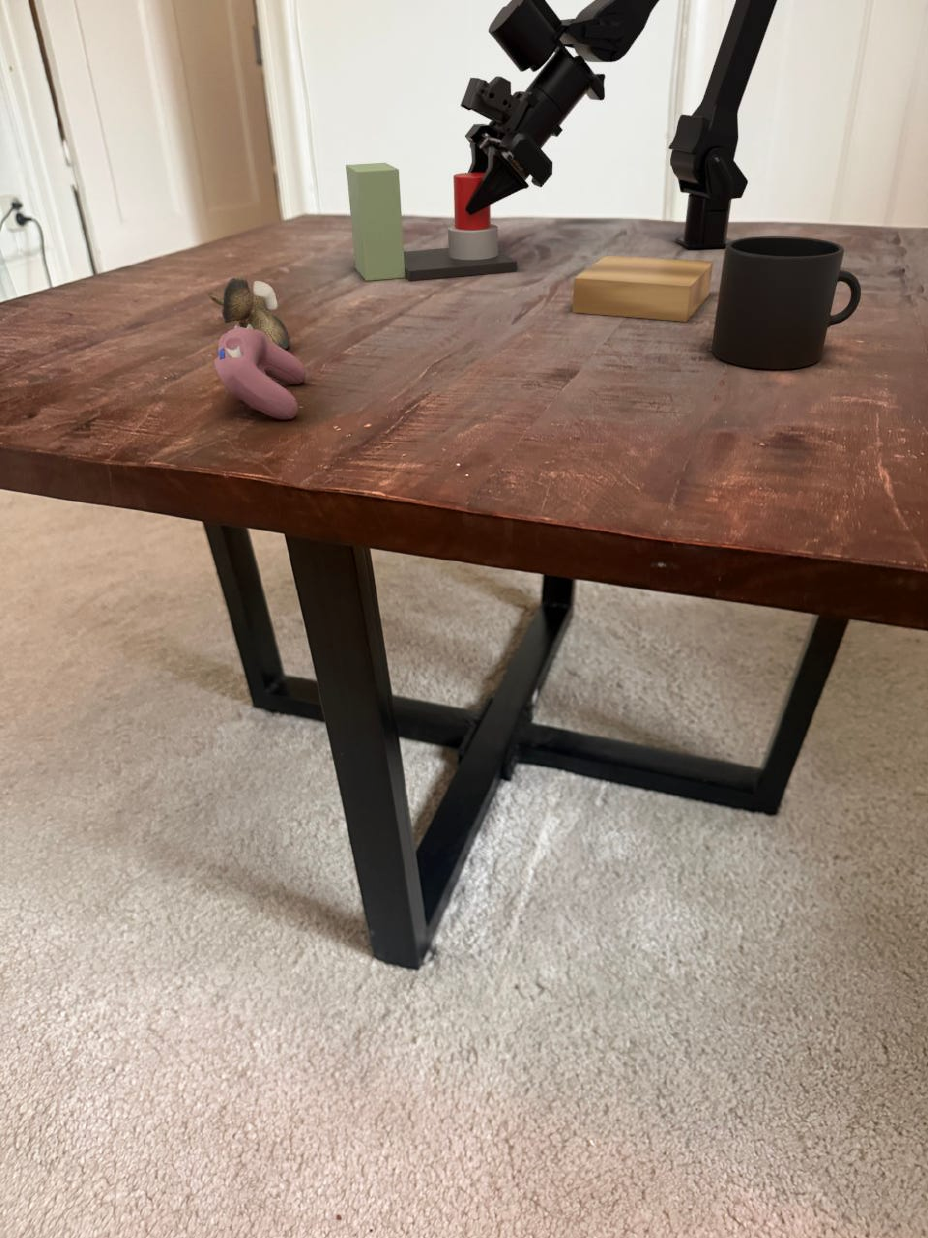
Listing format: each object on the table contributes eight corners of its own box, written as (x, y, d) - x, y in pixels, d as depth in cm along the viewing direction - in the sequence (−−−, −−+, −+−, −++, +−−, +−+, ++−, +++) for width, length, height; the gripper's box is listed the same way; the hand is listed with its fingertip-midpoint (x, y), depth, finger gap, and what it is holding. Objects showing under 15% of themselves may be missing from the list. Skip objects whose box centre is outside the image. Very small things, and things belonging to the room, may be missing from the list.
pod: (453, 224, 109) (451, 173, 106) (488, 223, 110) (488, 171, 106) (456, 231, 106) (455, 177, 102) (492, 229, 106) (492, 176, 102)
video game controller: (267, 400, 73) (216, 328, 69) (311, 374, 72) (262, 300, 69) (253, 443, 65) (195, 365, 61) (302, 415, 64) (247, 333, 60)
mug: (867, 369, 71) (895, 255, 66) (724, 371, 72) (741, 258, 66) (829, 337, 79) (852, 233, 74) (701, 340, 79) (714, 236, 74)
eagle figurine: (190, 329, 83) (206, 333, 75) (216, 259, 82) (235, 256, 74) (263, 362, 87) (285, 369, 79) (288, 296, 86) (313, 296, 78)
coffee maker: (489, 253, 116) (488, 154, 109) (517, 271, 106) (518, 163, 99) (352, 265, 112) (343, 163, 105) (369, 284, 102) (359, 173, 95)
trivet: (604, 287, 98) (606, 255, 96) (708, 294, 94) (713, 261, 92) (572, 312, 89) (574, 277, 87) (686, 322, 85) (690, 285, 83)
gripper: (479, 48, 105) (399, 153, 109) (528, 47, 90) (433, 168, 94) (536, 118, 111) (459, 215, 115) (592, 127, 96) (500, 239, 100)
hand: (461, 209), depth 106 cm, fingers closed on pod, 4 cm apart
